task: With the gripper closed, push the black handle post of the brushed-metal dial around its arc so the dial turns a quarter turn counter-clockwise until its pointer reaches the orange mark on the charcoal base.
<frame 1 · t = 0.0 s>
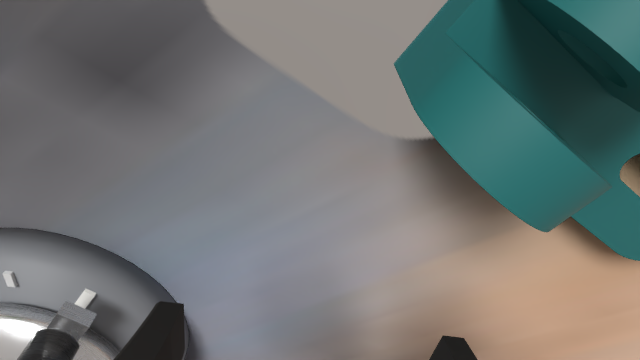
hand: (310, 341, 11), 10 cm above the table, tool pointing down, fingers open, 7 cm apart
dial base: (63, 322, 27), on the table
bracket: (583, 119, 19), on the table
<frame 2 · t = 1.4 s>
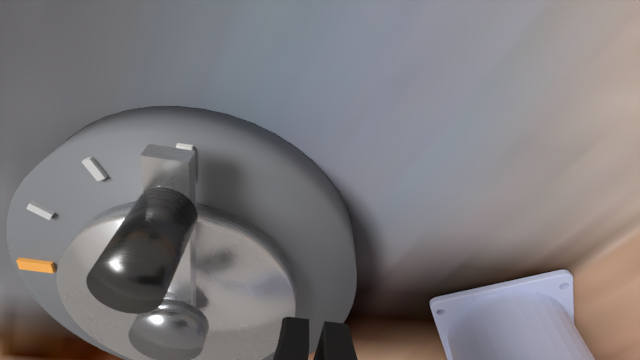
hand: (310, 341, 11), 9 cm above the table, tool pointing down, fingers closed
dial: (166, 313, 16), point 6 cm above the table, hinge at 0.0°
dial base: (201, 248, 22), on the table
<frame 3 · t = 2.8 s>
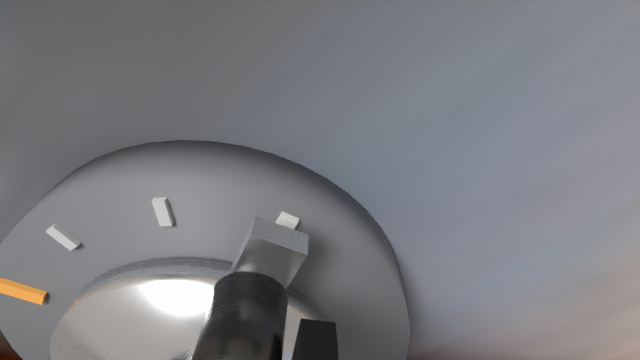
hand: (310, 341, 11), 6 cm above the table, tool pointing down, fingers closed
dial base: (221, 298, 19), on the table
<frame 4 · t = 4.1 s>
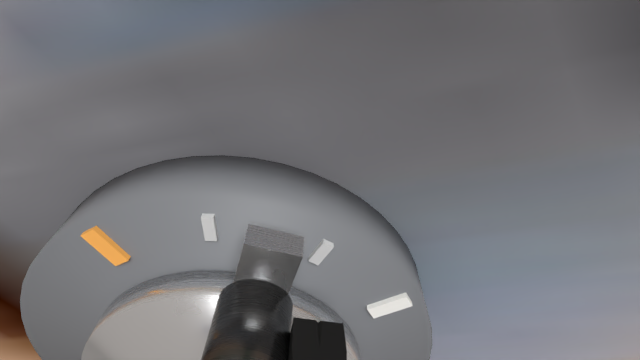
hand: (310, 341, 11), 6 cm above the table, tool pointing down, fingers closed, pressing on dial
dial base: (242, 307, 19), on the table
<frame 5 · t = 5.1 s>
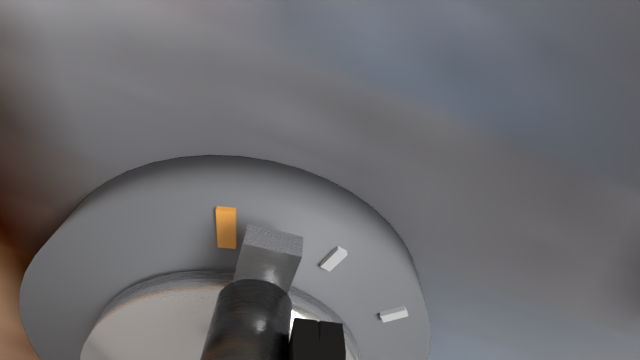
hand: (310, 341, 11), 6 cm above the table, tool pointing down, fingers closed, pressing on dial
dial base: (241, 307, 19), on the table
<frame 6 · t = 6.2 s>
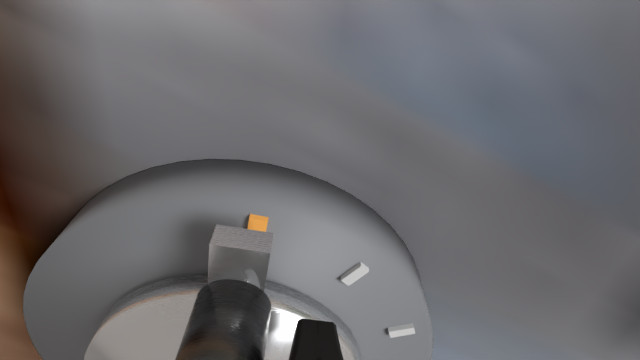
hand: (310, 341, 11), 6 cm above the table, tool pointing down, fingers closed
dial base: (244, 309, 19), on the table
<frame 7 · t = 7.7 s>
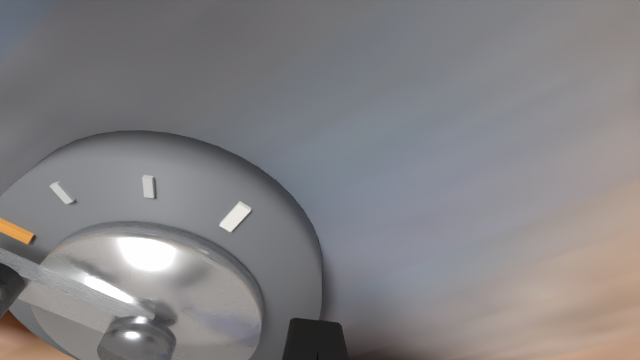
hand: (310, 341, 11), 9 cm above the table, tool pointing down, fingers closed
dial: (100, 339, 18), point 6 cm above the table, hinge at 92.1°
dial base: (174, 263, 23), on the table
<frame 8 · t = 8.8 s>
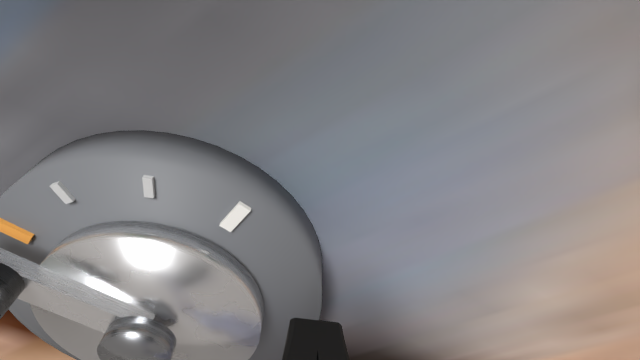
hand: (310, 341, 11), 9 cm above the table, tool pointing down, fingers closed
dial: (100, 339, 18), point 6 cm above the table, hinge at 92.1°
dial base: (174, 263, 23), on the table
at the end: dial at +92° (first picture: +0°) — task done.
